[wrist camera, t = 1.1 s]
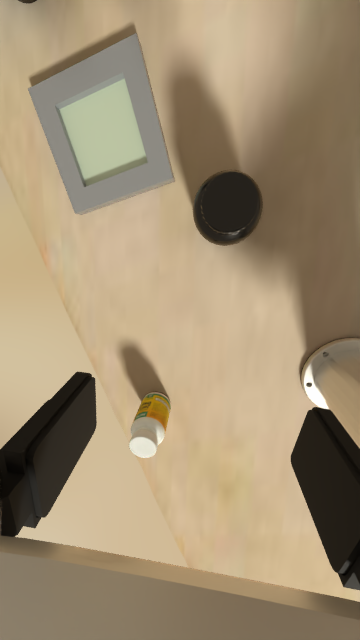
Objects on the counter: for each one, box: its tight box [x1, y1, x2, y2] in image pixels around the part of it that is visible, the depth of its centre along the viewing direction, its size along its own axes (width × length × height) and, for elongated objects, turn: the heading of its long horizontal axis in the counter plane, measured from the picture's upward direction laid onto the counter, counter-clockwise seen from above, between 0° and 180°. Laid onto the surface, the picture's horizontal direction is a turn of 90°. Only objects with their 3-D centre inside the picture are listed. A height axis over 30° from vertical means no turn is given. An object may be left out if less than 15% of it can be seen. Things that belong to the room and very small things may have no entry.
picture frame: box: [28, 33, 175, 215], centre depth 28 cm, size 14×14×2 cm
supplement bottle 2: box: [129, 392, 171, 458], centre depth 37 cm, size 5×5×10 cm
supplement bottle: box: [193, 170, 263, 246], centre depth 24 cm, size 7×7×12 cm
